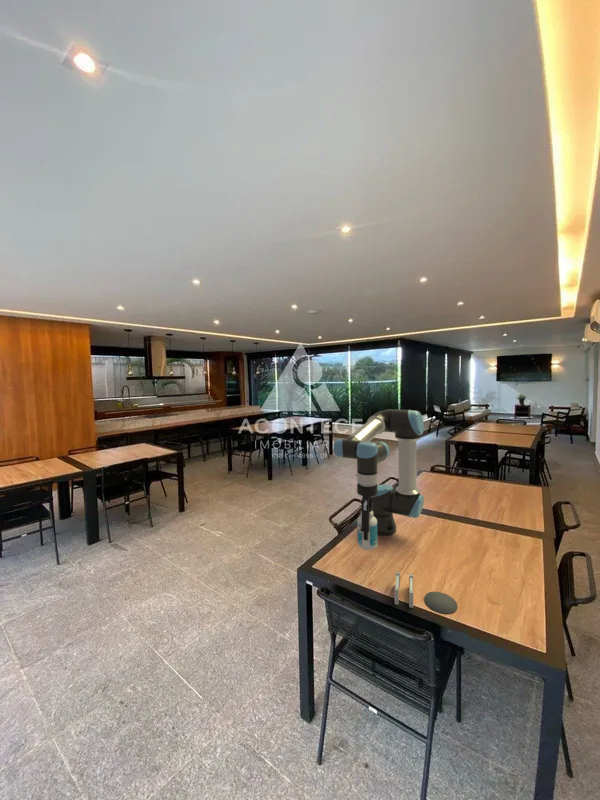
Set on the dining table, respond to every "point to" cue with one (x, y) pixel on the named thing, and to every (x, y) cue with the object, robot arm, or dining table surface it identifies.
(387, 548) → the dining table surface
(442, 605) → the coaster
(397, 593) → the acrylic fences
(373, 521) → the pill bottle
